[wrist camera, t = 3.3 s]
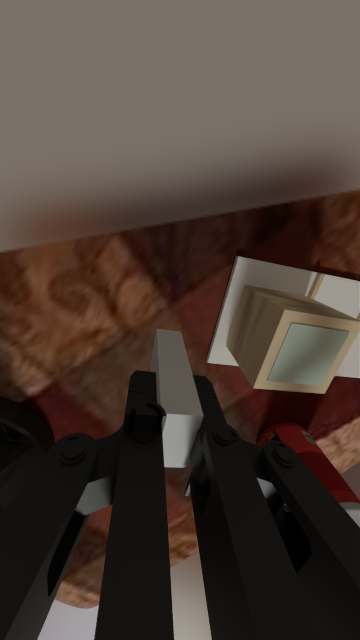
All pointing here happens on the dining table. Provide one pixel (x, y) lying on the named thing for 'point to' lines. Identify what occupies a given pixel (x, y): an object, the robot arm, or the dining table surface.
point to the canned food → (314, 463)
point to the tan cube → (289, 340)
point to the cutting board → (323, 288)
